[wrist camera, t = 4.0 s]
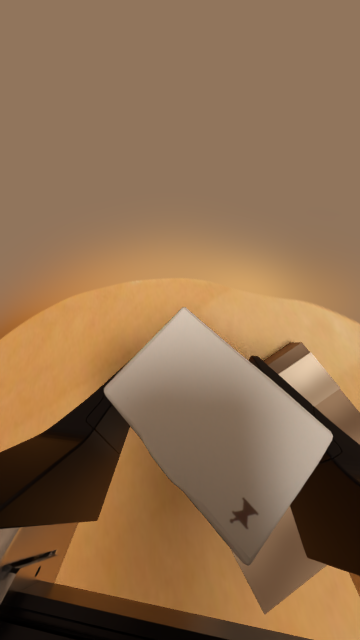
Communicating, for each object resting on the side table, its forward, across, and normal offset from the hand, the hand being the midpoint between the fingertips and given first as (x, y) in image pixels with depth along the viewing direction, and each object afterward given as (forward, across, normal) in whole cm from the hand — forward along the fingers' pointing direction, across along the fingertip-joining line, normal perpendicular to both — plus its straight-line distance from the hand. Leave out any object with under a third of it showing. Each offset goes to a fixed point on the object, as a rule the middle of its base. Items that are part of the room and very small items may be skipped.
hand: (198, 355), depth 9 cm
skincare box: (+4, 0, +6) cm, 7 cm away
